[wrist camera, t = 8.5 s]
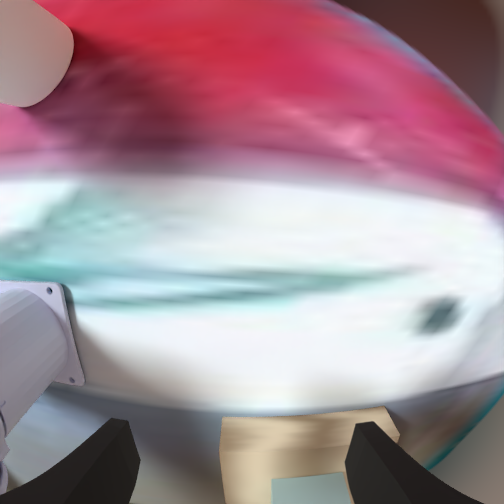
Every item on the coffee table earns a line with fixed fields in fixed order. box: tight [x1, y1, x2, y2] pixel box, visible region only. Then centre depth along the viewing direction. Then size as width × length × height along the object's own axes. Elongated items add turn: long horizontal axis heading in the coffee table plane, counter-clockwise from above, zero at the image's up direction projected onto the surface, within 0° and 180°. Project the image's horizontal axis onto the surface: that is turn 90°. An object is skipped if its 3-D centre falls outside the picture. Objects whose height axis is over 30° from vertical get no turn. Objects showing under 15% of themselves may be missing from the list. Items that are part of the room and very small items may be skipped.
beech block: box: [219, 406, 400, 504], centre depth 20 cm, size 12×12×4 cm
